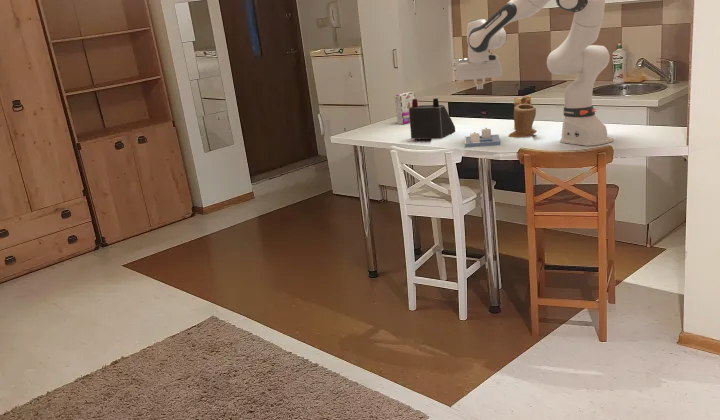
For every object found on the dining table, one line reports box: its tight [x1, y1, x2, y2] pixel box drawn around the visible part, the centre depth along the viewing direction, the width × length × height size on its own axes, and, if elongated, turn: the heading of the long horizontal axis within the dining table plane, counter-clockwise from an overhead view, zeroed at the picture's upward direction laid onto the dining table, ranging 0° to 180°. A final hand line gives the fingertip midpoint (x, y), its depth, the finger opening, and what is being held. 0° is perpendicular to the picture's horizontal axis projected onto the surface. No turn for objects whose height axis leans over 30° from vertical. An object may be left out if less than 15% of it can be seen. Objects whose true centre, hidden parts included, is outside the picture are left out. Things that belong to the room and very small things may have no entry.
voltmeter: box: [409, 97, 456, 142], centre depth 317 cm, size 16×16×20 cm
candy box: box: [513, 95, 532, 131], centre depth 318 cm, size 9×4×15 cm, turn 134°
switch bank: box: [464, 134, 501, 148], centre depth 291 cm, size 15×16×3 cm
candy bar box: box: [394, 91, 416, 126], centre depth 368 cm, size 11×5×16 cm, turn 132°
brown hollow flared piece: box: [507, 104, 537, 138], centre depth 298 cm, size 15×12×15 cm
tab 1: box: [469, 131, 481, 143], centre depth 287 cm, size 4×3×5 cm
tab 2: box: [481, 127, 492, 138], centre depth 294 cm, size 4×3×5 cm
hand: (479, 89), depth 294 cm, fingers closed
